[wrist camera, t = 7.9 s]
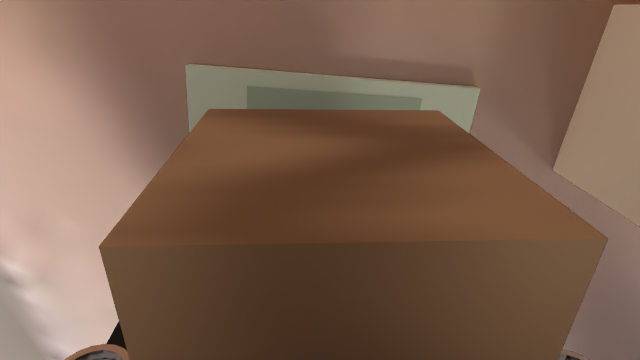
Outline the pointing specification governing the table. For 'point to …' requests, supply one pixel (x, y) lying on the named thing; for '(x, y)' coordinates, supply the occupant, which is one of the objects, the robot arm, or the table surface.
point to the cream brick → (609, 120)
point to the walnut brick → (345, 245)
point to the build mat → (319, 93)
